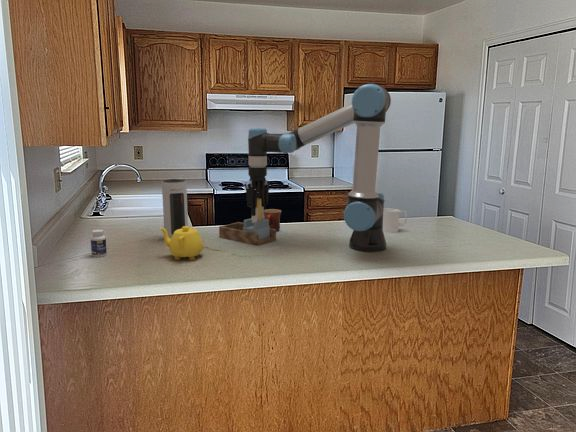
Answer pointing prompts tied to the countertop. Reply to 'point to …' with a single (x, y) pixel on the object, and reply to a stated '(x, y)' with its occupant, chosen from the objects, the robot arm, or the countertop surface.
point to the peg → (259, 208)
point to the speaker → (174, 205)
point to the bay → (244, 234)
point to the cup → (392, 220)
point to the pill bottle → (98, 243)
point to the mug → (273, 218)
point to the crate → (258, 228)
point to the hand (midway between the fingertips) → (257, 222)
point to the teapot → (184, 242)
